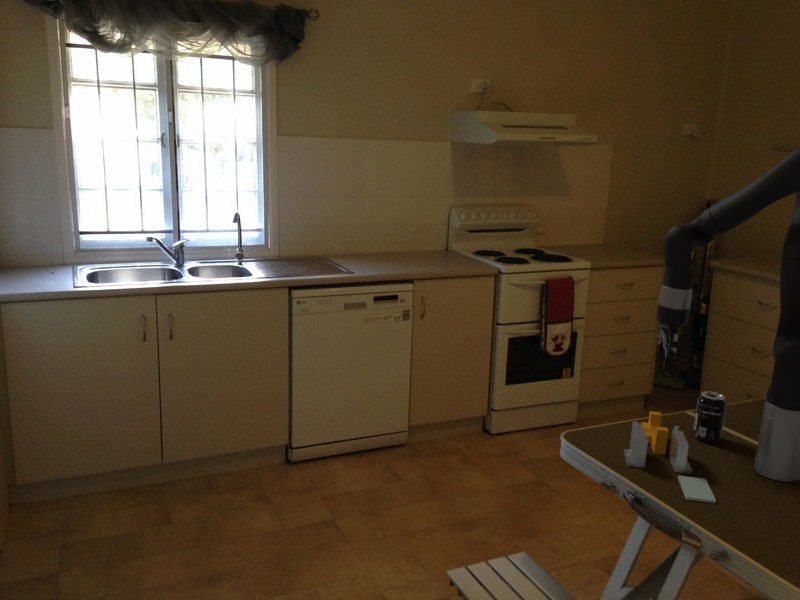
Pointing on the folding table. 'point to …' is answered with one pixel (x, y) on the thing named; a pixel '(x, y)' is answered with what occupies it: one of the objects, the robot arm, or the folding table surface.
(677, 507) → the folding table surface
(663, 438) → the pipe clamp
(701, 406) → the beverage can
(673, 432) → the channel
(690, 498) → the pad
